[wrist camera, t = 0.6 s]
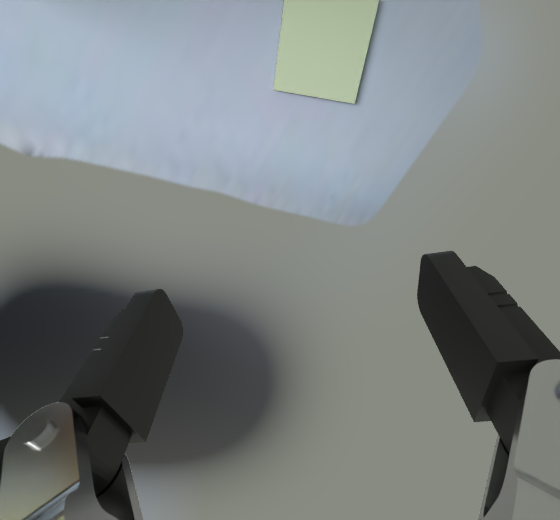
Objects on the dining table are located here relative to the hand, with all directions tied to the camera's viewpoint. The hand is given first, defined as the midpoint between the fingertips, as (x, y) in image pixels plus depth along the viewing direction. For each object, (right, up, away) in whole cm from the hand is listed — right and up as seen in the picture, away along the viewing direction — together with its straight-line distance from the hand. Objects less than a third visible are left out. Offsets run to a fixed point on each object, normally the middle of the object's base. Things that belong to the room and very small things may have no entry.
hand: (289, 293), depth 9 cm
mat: (+4, +20, +18) cm, 27 cm away
